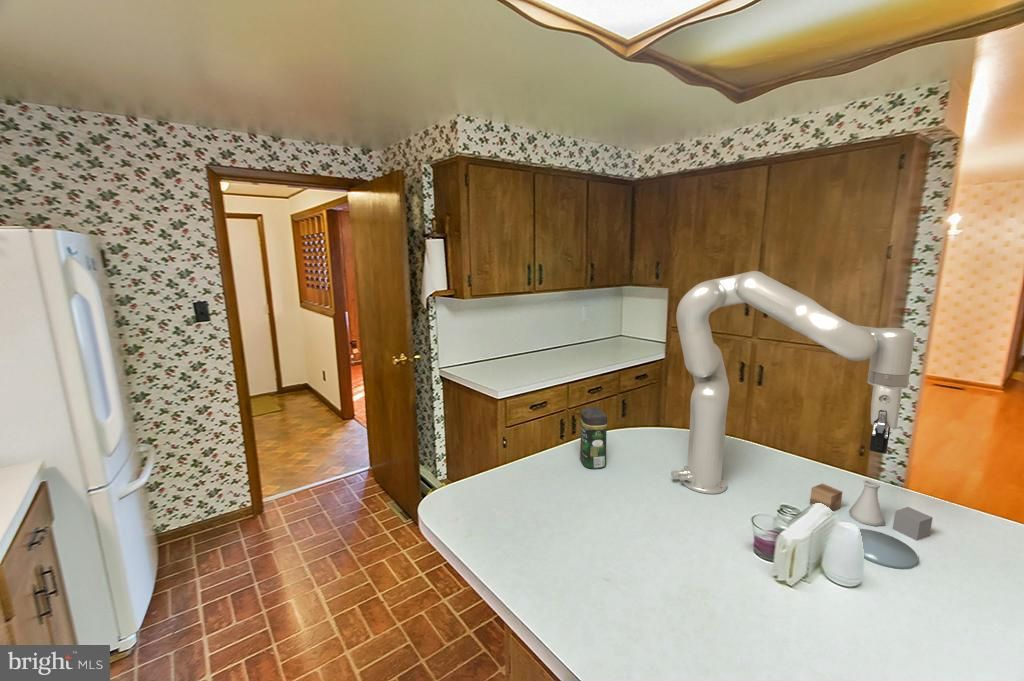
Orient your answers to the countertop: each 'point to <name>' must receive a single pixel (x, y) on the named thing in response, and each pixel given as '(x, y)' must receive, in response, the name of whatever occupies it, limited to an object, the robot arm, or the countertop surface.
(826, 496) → the walnut block
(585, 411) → the coffee jar
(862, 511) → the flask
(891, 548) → the slate plate
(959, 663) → the countertop surface
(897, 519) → the charcoal block
